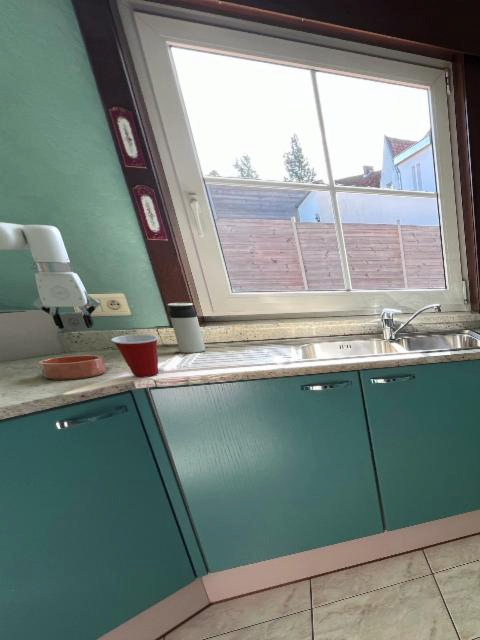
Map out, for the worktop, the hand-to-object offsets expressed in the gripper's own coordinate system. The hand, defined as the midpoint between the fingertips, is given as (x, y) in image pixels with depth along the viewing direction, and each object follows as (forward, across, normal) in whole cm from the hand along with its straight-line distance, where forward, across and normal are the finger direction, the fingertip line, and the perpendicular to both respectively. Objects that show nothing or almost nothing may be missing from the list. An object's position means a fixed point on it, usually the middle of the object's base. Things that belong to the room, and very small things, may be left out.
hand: (76, 327), depth 158 cm
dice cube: (+1, 0, 0) cm, 1 cm away
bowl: (+13, 0, -13) cm, 19 cm away
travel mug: (+13, +24, +22) cm, 35 cm away
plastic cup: (+13, +18, -20) cm, 31 cm away
